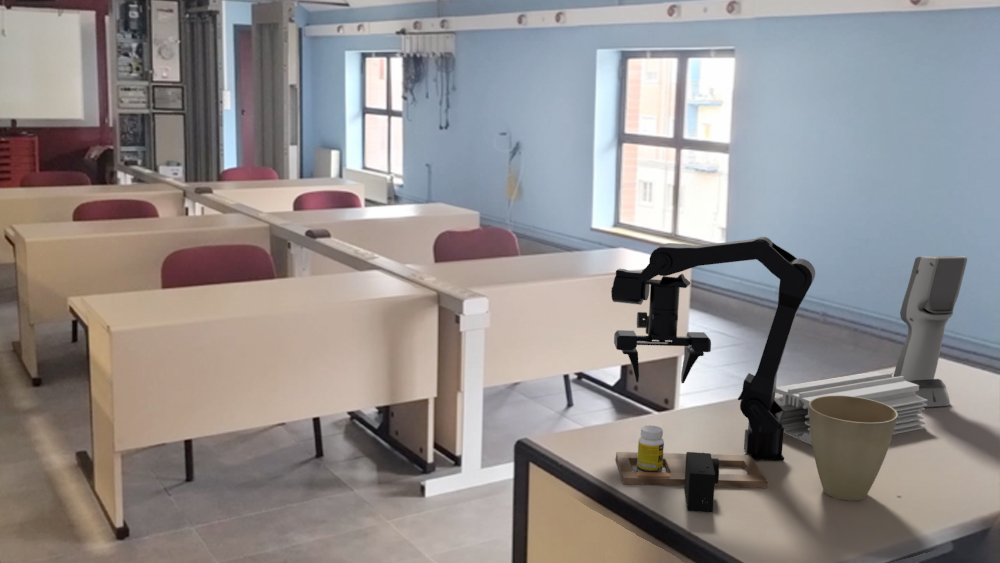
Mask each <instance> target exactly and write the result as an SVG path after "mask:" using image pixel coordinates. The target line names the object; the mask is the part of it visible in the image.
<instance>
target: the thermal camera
mask: <svg viewBox="0 0 1000 563" xmlns="http://www.w3.org/2000/svg"><path fill="white" fill-rule="evenodd" d="M967 262H968V258H967V256H964V255H946V256H945V255H943V256H942V255H941V256H939V255H938V256H936V255H935V256H934V255H933V256H929V255H928V256H917V257H915V259H914V263H913V265H912V266H913V267H912V269H911V273H910V278H909V281H908V285H907V288H906V292H905V294H904V298H903V300H902V304H901V307H900V313H899V314H900V318H901V320H902V321H903V323H905V324H906V326H907V327H908V330H907V333H906V338H905V340H904V343H903V346H902V348H901V351H900V354H899V356H898V359H897V362H896V366H895V369H894V372H893V375H892V377H899V376H904V380H905V381H908V382H911V383H914V384H917V385H919V391H915V395H918V396H919V397H921V398H924V399H926V400H928V401H926V402H922V403H925V404H927V406H923V408H925V409H927V408H944V407H945V408H946V407H949V406H950V403H951V402H950V396H949V392H948V388H947V386H946V384H945V383H944V381H943V380H942V379H940V378H935V375H936V372H937V368H938V364H939V360H940V355H941V354H940V353H941V349H942V344H943V339H944V334H945V329H946V325H947V322H948V321H949V319H950V318H951V317H952V316H953V314H954V310H955V309H954V308H955V306H956V303H957V301H958V298H959V294H960V290H961V287H962V283H963V278H964V275H965V271H966V266H967V264H968V263H967Z"/></svg>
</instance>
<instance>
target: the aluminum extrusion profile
mask: <svg viewBox="0 0 1000 563" xmlns="http://www.w3.org/2000/svg"><path fill="white" fill-rule="evenodd" d="M893 375H894V372H889V373H884V372H880V371H870V372H864V373H859V374H857V373H856V374H851V375H845V376H839V377H833V378H826V379H819V380H813V381H806V382H802V383H794V384H788V385H787V384H786V385H781V386H776V391H775V394H778V395H782V396H777V397H776V396H775V399H774V400H775V401H776V402H777V403H778V404H779V405H780V407H781V408H782V409H783V410H784V411H785V413H784V415H783V418H782V420H781V422H780V423H781V425H782V426H783V427H784V434H785V433H786V434H785V435H787V434H788V435H787V436H790V437H792V438H794V439H797V440H799V441H801V442H803V443H806V444H809V445H810V446H812V439H811V431H810V419H809V402H810V401H811V400H812V399H814V398H817V397H821V396H830V395H842V396H854V397H861V398H866V399H870V400H874V401H878V402H881V403H884V404H886V405H888V406H890V407H892V408H893V409H895V410H896V411H897V413H898V416H897V420H896V424H895V428H894V431H893V435H896V434H902V433H907V432H911V431H916V430H922V429H925V428H926V427H925V426H924V425H925V424H926V422H925V421H922V420H923V419H925V417H924V416H921V414H923V411H924V410H926V408H923V406H927V404H925V403H922V402H926V401H928V400H926V399H924V398H921V397H919V396H918V395H915V391H919V385H917V384H914V383H911V382H908V381H905V380H904V376H899V377H893Z"/></svg>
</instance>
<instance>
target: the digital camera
mask: <svg viewBox="0 0 1000 563" xmlns="http://www.w3.org/2000/svg"><path fill="white" fill-rule="evenodd" d="M685 454H686V468H685V484H684V487H683V488H684V495H685V502H686V511H687V512H699V513H713V512H714V501H715V500H714V499H715V487H716V486H715V484H718V479H719V474H720V466H719V459H715V458H711V454H712V453H709V452H707V453H705V452H696V451H695V452H694V451H686V453H685Z"/></svg>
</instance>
